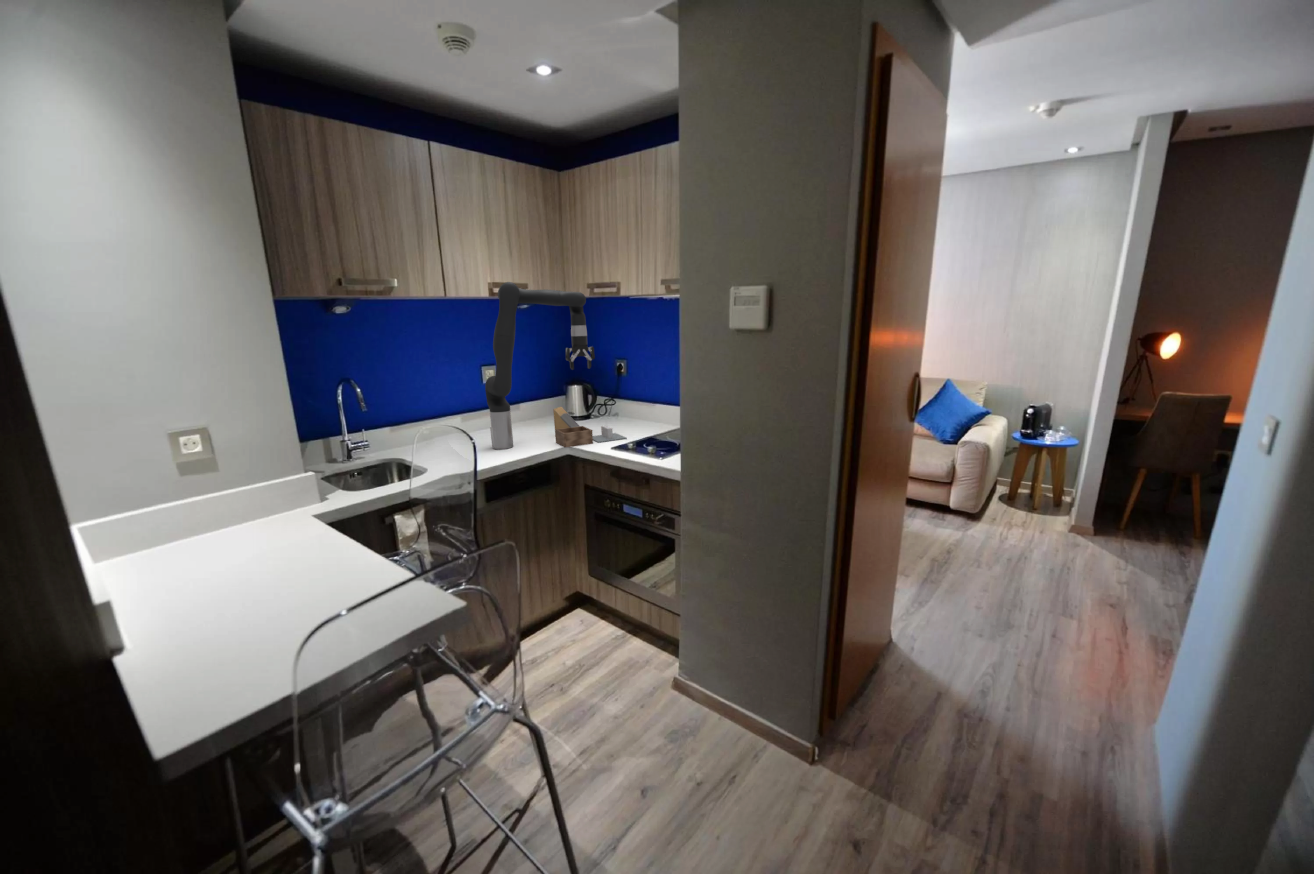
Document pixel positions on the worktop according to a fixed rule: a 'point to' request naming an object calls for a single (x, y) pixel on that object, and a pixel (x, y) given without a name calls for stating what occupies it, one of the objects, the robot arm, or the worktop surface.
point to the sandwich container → (563, 419)
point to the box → (574, 436)
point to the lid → (607, 435)
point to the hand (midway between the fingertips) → (581, 368)
